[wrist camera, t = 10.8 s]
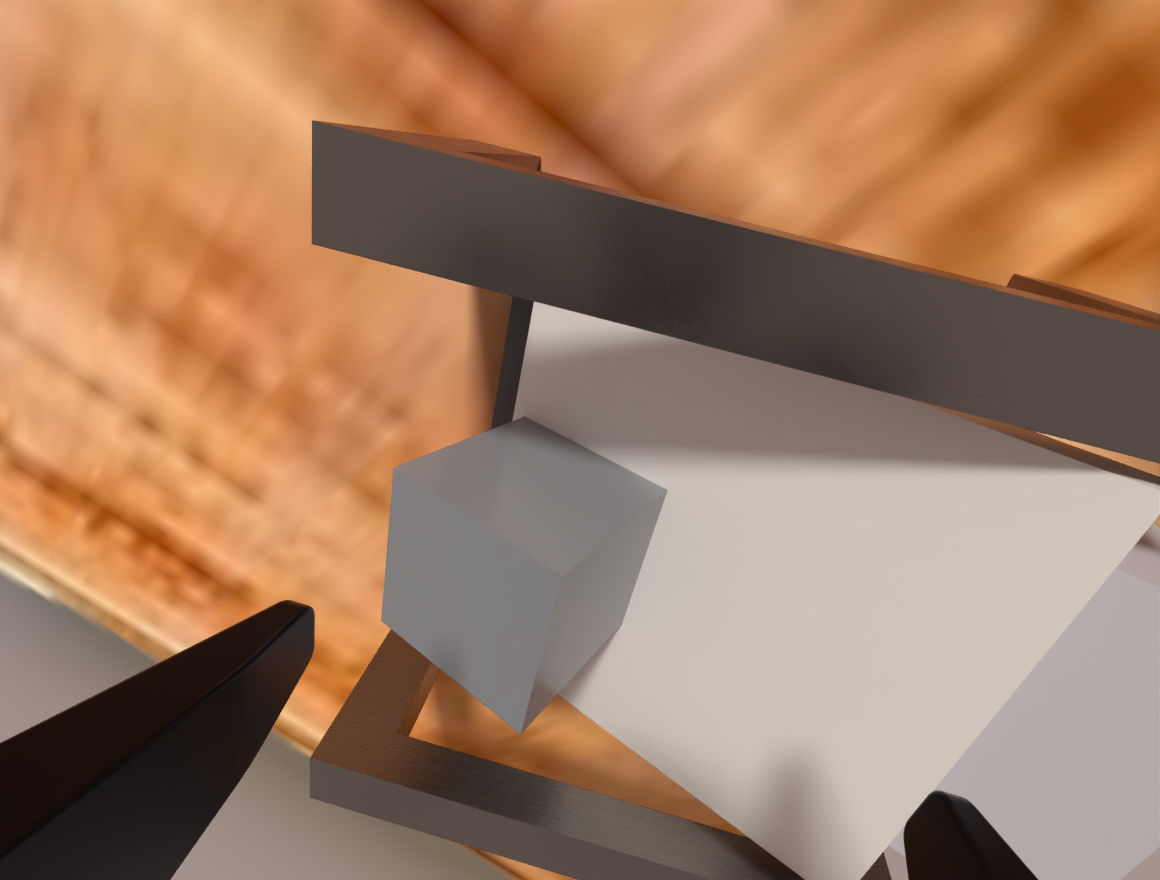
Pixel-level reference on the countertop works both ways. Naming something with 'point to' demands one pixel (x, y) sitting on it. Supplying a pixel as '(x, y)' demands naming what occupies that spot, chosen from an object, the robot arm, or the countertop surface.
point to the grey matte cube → (514, 560)
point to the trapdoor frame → (703, 316)
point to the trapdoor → (867, 607)
